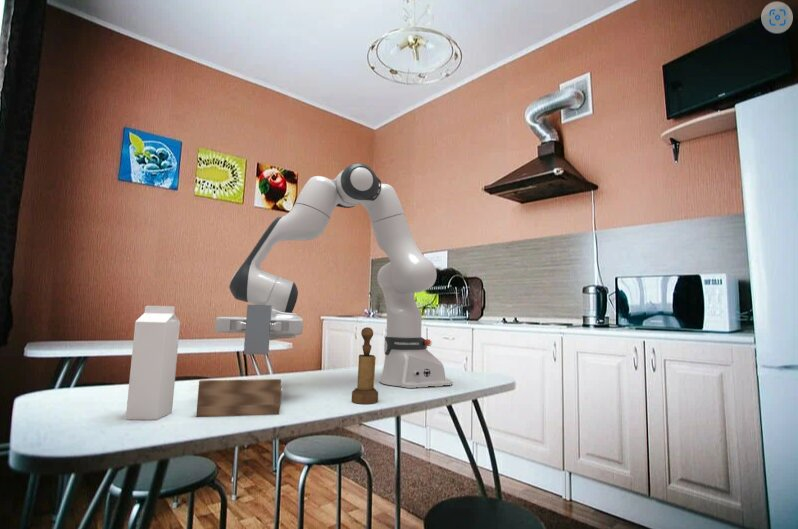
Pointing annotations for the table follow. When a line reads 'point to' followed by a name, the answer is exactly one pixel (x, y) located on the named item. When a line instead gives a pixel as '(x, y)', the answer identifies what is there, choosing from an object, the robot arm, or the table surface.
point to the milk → (153, 364)
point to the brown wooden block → (238, 397)
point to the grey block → (257, 329)
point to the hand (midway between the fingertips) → (258, 326)
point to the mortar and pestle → (365, 373)
